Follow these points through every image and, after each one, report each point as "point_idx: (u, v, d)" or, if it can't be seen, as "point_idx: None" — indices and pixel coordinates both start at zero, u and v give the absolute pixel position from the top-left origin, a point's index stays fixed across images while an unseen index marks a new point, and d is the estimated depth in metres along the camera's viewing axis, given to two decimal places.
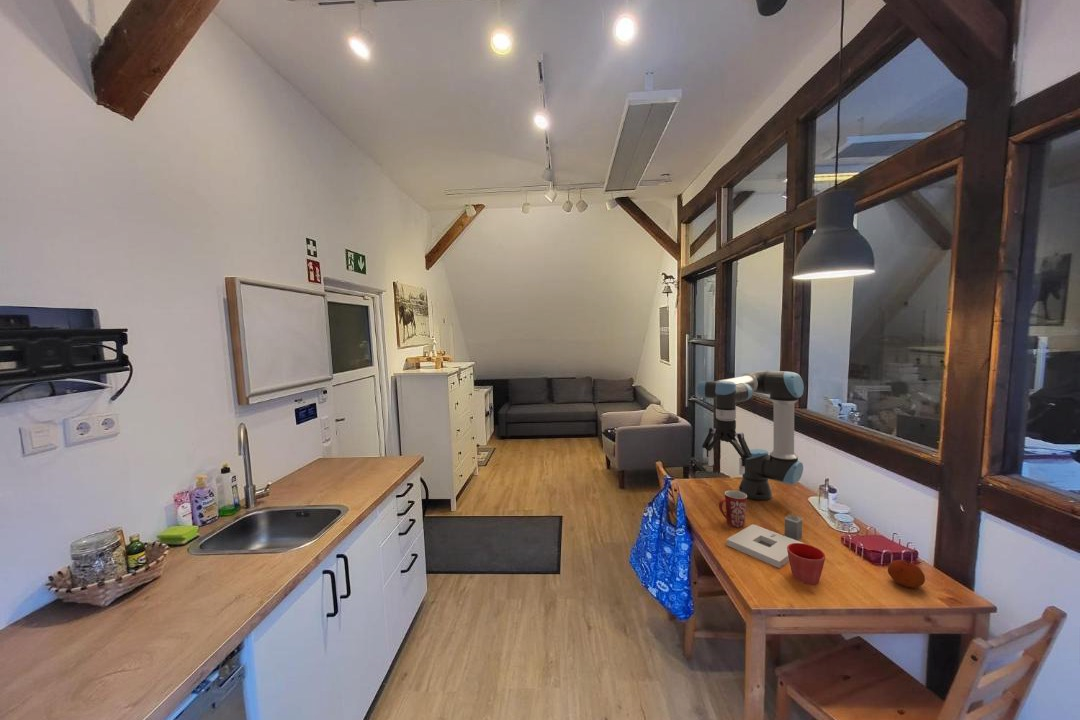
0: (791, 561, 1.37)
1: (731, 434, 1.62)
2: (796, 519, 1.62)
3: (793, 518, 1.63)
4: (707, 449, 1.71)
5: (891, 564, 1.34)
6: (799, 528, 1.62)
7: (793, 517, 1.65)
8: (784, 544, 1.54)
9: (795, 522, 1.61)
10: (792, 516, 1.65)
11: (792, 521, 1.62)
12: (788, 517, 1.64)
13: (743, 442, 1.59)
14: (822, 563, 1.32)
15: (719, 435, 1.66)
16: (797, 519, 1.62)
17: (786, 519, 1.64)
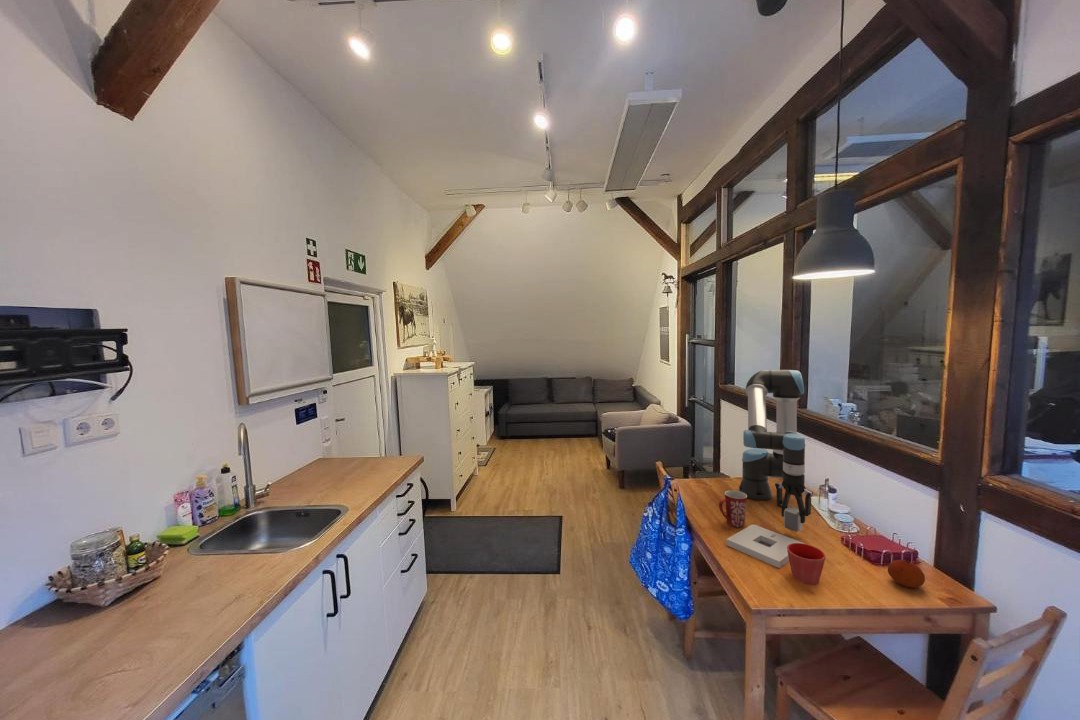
0: (791, 561, 1.37)
1: (800, 489, 1.60)
2: (796, 511, 1.63)
3: (793, 510, 1.64)
4: (783, 508, 1.66)
5: (891, 564, 1.34)
6: None
7: (793, 508, 1.65)
8: (784, 544, 1.54)
9: (795, 514, 1.61)
10: (792, 508, 1.65)
11: (792, 513, 1.62)
12: (788, 509, 1.65)
13: (809, 501, 1.58)
14: (822, 563, 1.32)
15: (787, 489, 1.63)
16: (797, 511, 1.62)
17: (786, 511, 1.64)
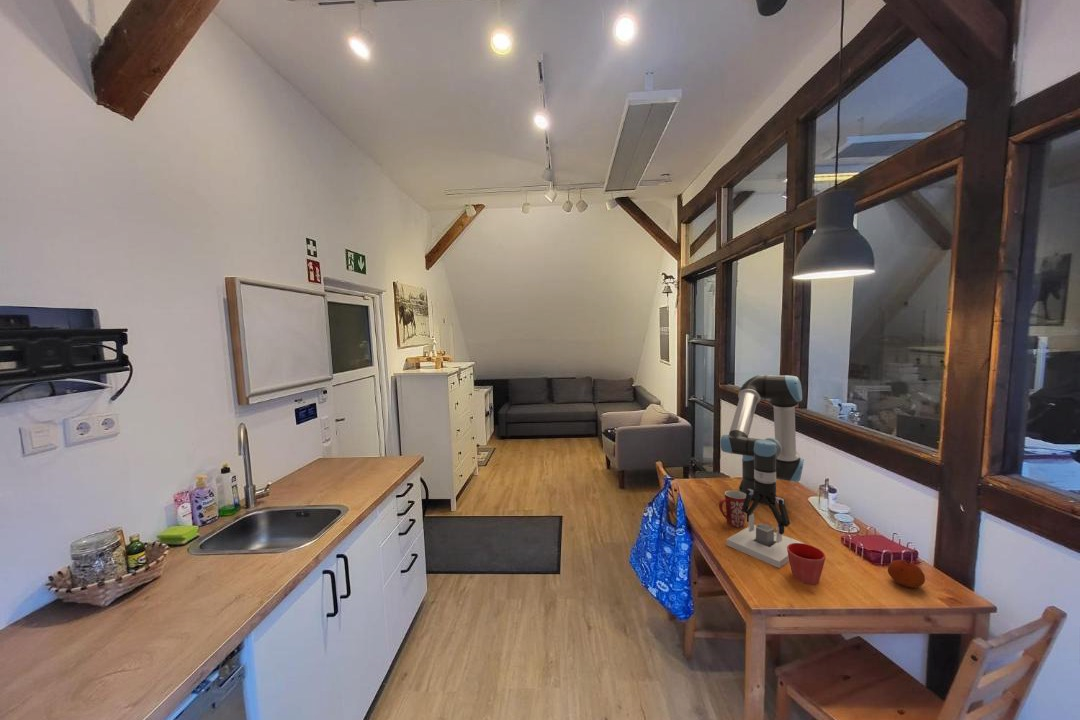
0: (791, 561, 1.37)
1: (771, 498, 1.53)
2: (767, 528, 1.55)
3: (764, 527, 1.56)
4: (747, 514, 1.61)
5: (891, 564, 1.34)
6: (770, 538, 1.55)
7: (765, 525, 1.58)
8: (784, 544, 1.54)
9: (765, 531, 1.54)
10: (764, 525, 1.58)
11: (763, 530, 1.55)
12: (759, 526, 1.57)
13: (783, 509, 1.50)
14: (822, 563, 1.32)
15: (758, 497, 1.56)
16: (768, 529, 1.55)
17: (757, 528, 1.57)
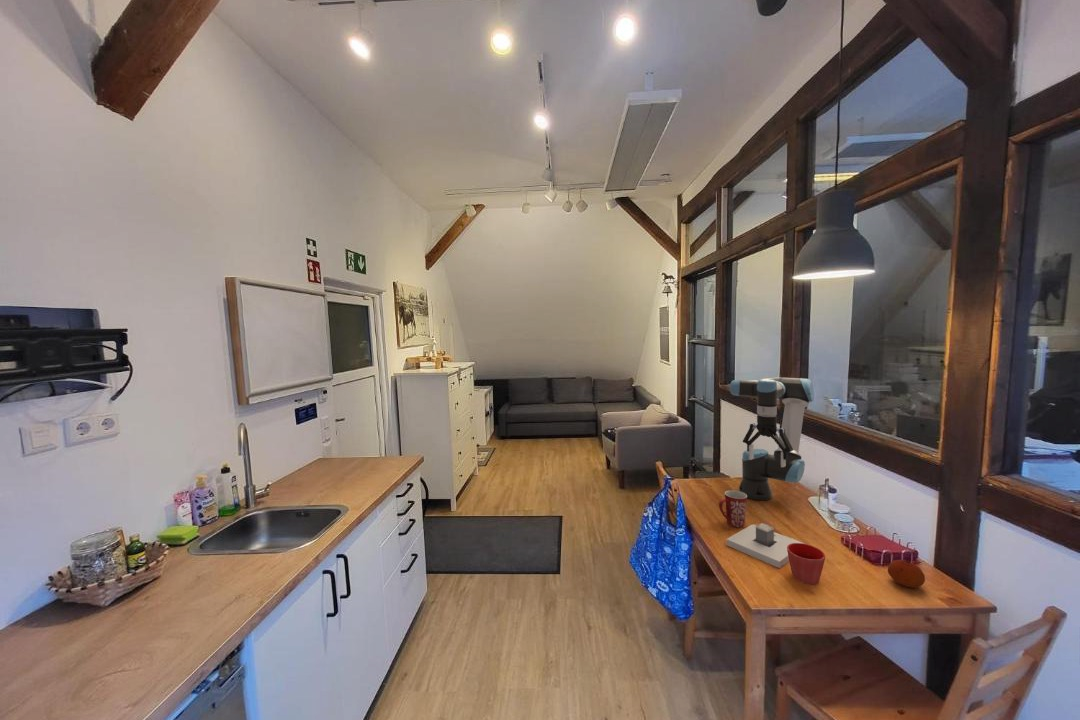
0: (791, 561, 1.37)
1: (772, 429, 1.72)
2: (767, 528, 1.55)
3: (764, 527, 1.56)
4: (748, 444, 1.81)
5: (891, 564, 1.34)
6: (769, 538, 1.55)
7: (765, 525, 1.58)
8: (784, 544, 1.54)
9: (765, 531, 1.54)
10: (764, 525, 1.58)
11: (763, 530, 1.55)
12: (759, 526, 1.57)
13: (784, 437, 1.69)
14: (822, 563, 1.32)
15: (760, 430, 1.75)
16: (768, 529, 1.55)
17: (757, 528, 1.57)
